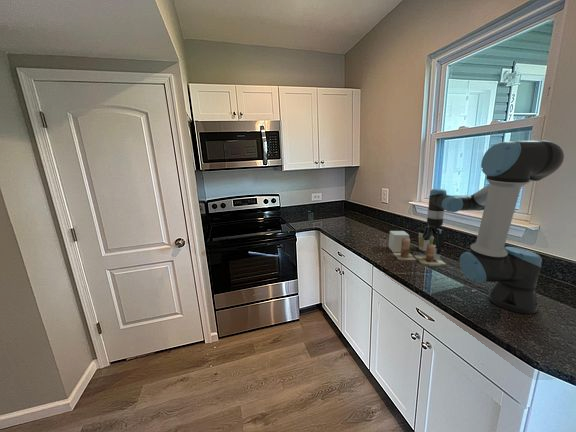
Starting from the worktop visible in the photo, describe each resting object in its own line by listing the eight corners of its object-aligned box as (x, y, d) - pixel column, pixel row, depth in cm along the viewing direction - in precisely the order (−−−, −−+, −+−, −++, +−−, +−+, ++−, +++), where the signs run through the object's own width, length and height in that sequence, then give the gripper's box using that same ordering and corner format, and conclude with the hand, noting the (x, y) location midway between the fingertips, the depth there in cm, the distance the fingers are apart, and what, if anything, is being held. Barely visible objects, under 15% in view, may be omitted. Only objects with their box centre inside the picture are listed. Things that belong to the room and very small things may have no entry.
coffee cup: (435, 254, 153) (438, 231, 150) (418, 253, 155) (421, 231, 151) (430, 249, 162) (432, 227, 159) (414, 248, 164) (416, 226, 161)
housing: (407, 254, 154) (409, 235, 151) (392, 254, 155) (394, 235, 152) (402, 249, 163) (404, 230, 160) (388, 249, 164) (389, 230, 161)
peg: (435, 265, 139) (437, 246, 136) (427, 265, 139) (429, 246, 136) (431, 262, 143) (433, 244, 140) (423, 262, 143) (425, 244, 141)
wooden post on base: (416, 262, 142) (419, 242, 139) (398, 262, 143) (400, 242, 140) (409, 255, 153) (411, 236, 150) (392, 255, 154) (394, 236, 151)
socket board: (446, 268, 134) (446, 264, 134) (423, 268, 135) (423, 263, 135) (435, 259, 146) (435, 255, 145) (414, 259, 147) (414, 255, 146)
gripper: (455, 223, 122) (449, 263, 127) (431, 213, 146) (427, 247, 151) (439, 223, 123) (434, 263, 127) (418, 213, 147) (415, 247, 151)
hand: (430, 254), depth 139 cm, fingers open, 12 cm apart
